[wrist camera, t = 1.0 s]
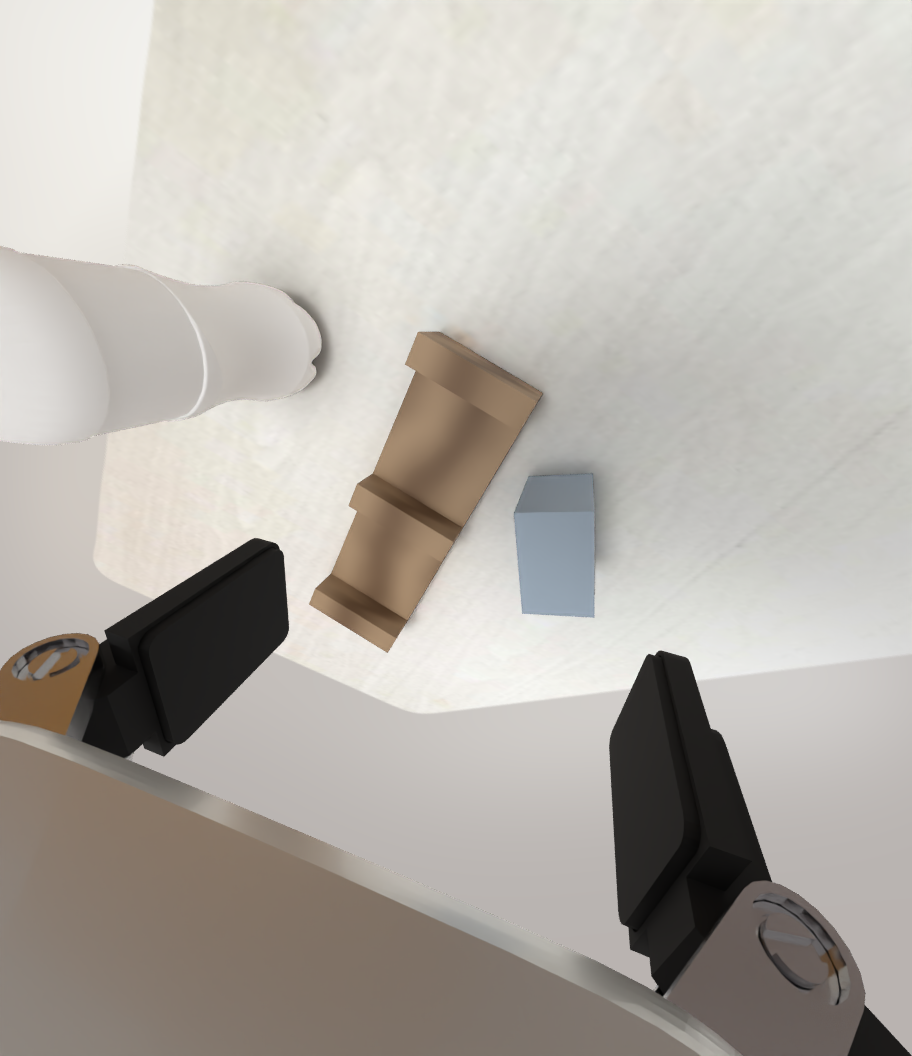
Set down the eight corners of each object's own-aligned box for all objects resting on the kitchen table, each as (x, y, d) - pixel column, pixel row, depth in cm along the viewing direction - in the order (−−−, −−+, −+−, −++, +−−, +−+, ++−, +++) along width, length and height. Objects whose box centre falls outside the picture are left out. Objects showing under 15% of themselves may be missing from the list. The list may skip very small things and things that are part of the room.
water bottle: (257, 389, 33) (-370, 498, 11) (241, 286, 30) (-668, 165, 8) (337, 397, 32) (-216, 543, 10) (329, 289, 28) (-513, 149, 7)
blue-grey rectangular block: (593, 473, 29) (595, 511, 23) (593, 562, 31) (595, 617, 25) (528, 476, 30) (513, 512, 24) (534, 561, 33) (522, 613, 27)
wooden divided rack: (543, 393, 27) (536, 402, 24) (405, 624, 39) (387, 652, 36) (439, 331, 28) (418, 331, 24) (333, 580, 39) (309, 604, 36)
